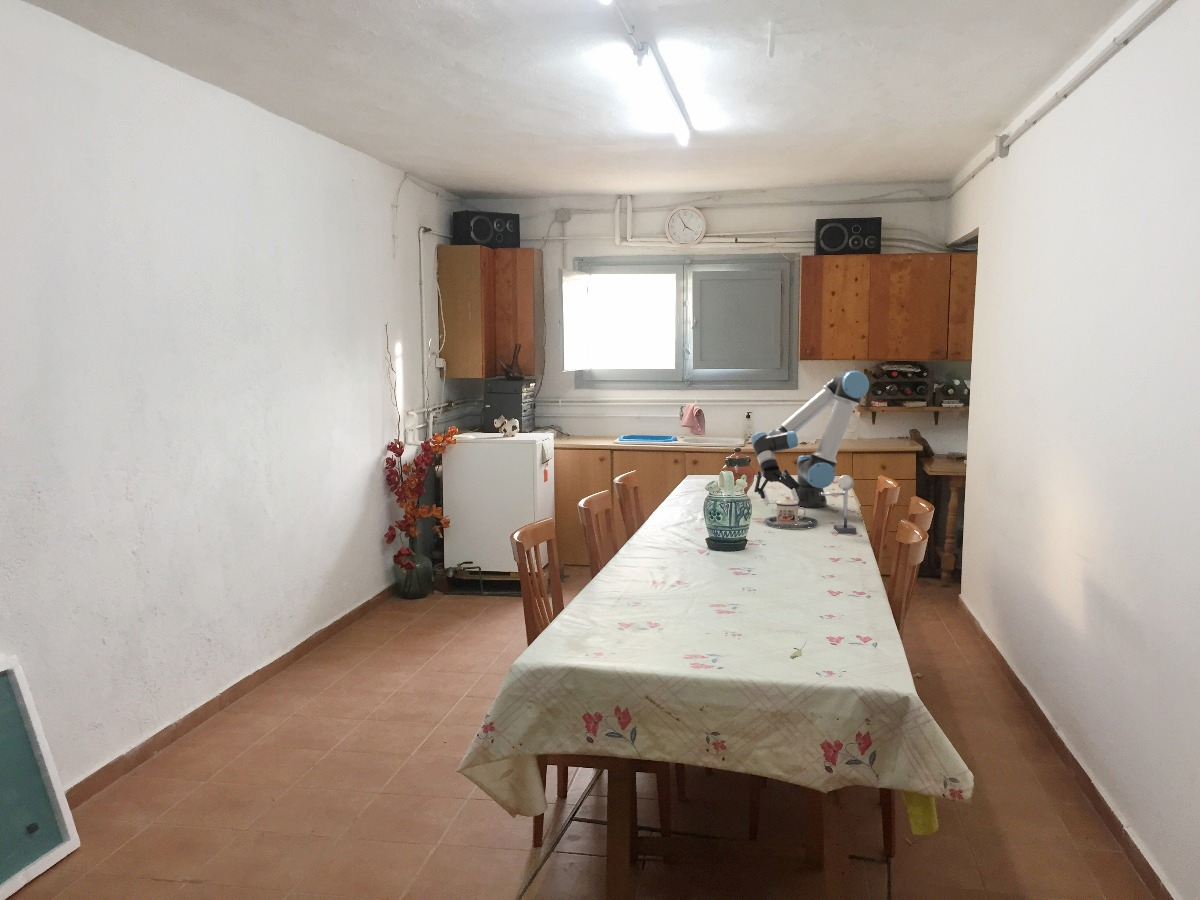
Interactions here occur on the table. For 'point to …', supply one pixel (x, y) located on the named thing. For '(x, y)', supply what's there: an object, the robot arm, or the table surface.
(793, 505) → the teacup with lid
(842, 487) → the dial gauge stand
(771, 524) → the centring ring
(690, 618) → the table surface
